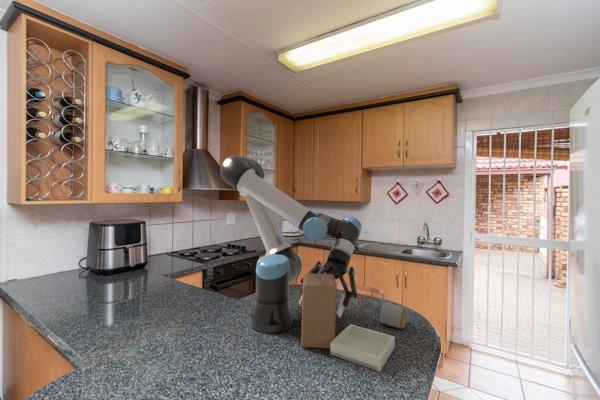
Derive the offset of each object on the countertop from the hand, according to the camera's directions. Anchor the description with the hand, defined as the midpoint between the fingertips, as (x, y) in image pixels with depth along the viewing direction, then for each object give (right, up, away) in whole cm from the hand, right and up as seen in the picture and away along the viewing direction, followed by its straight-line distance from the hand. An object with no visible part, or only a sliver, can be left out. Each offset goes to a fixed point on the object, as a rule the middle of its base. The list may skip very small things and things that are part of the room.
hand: (318, 310), depth 90 cm
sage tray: (+13, -11, -4) cm, 17 cm away
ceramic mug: (+28, -11, +15) cm, 34 cm away
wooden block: (0, -10, +1) cm, 10 cm away
